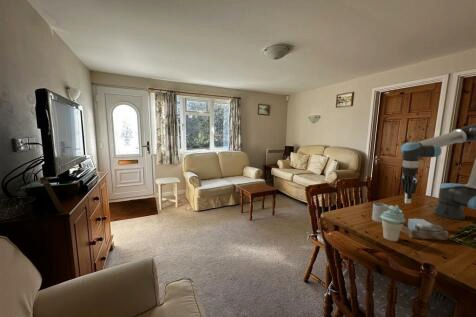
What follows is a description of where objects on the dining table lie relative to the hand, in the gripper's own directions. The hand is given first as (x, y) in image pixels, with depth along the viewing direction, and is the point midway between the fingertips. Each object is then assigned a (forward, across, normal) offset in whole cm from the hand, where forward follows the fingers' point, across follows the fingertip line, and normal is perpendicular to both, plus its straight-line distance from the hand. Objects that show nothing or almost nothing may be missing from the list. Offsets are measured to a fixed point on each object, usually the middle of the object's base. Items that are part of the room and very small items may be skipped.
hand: (407, 203), depth 129 cm
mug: (+13, -4, -14) cm, 19 cm away
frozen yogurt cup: (+13, +22, -22) cm, 34 cm away
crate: (+14, +14, -1) cm, 19 cm away
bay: (+14, +9, -1) cm, 16 cm away
